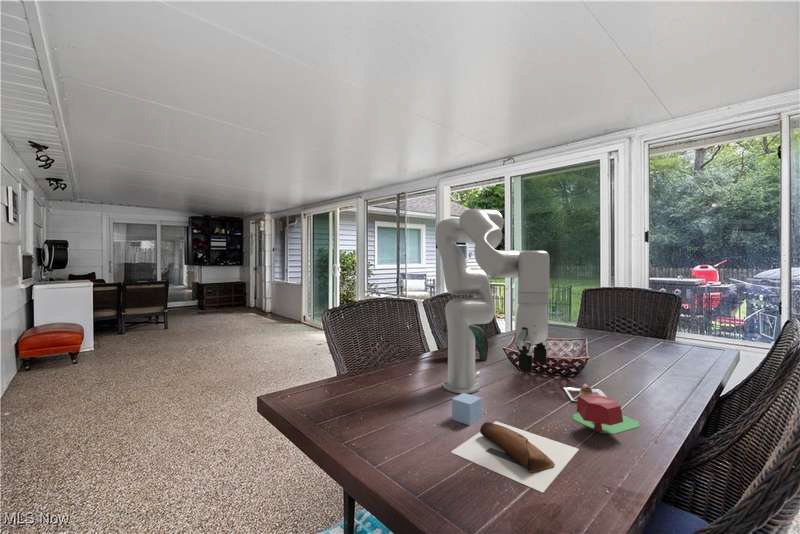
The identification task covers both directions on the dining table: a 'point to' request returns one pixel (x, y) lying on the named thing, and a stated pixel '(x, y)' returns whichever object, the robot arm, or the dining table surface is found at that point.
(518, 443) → the sunglasses case
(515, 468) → the letter mat
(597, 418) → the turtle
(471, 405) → the blue cube
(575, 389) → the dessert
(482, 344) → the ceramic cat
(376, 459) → the dining table surface
